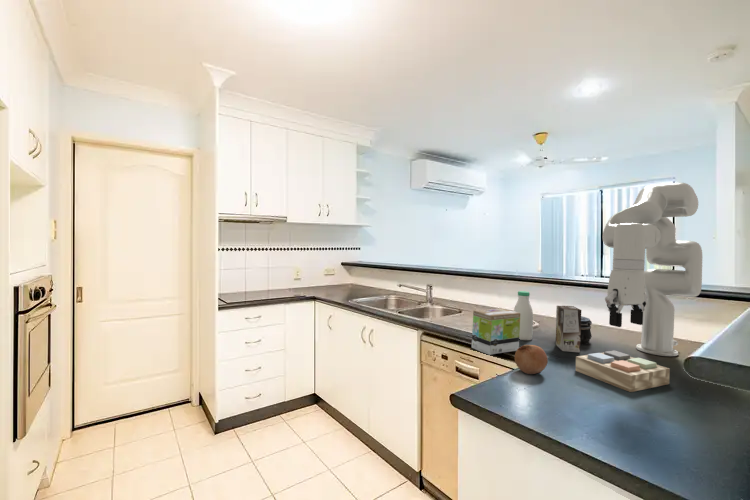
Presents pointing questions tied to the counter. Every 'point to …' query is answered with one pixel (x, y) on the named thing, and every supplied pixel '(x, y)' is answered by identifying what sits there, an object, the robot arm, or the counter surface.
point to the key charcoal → (617, 355)
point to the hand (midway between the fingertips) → (626, 324)
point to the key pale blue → (601, 358)
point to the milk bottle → (524, 315)
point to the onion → (531, 359)
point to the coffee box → (568, 328)
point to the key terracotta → (625, 366)
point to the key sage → (643, 363)
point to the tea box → (495, 331)
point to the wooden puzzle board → (623, 374)
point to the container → (585, 331)
